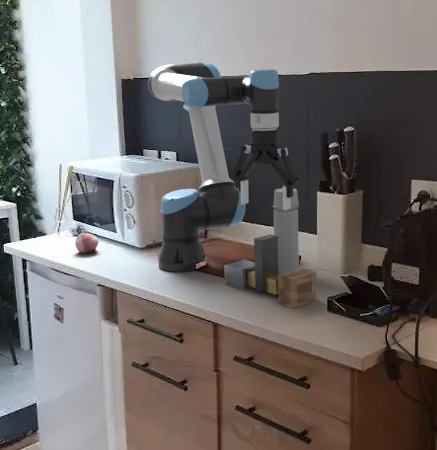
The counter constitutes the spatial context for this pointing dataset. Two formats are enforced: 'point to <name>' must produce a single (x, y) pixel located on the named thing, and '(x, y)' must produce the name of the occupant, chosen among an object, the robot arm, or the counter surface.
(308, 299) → the socket block
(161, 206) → the robot arm
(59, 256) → the counter surface
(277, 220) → the water bottle
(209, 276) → the counter surface
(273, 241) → the grey and yellow block
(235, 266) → the sleeve
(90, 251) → the apple
